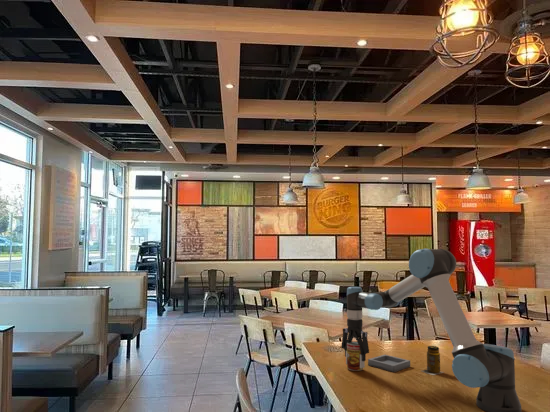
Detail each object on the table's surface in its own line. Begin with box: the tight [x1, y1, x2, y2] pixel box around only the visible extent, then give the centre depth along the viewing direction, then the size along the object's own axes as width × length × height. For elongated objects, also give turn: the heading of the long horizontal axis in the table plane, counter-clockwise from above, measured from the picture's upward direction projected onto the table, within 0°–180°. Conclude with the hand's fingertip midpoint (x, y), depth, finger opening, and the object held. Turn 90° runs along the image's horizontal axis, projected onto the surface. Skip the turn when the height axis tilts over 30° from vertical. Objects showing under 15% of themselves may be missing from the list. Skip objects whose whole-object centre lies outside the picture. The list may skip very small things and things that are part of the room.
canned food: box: [346, 341, 364, 372], centre depth 204 cm, size 8×8×12 cm
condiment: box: [421, 345, 445, 376], centre depth 203 cm, size 7×8×12 cm
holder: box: [367, 354, 411, 373], centre depth 211 cm, size 15×15×3 cm
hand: (355, 365), depth 204 cm, fingers closed on canned food, 8 cm apart
